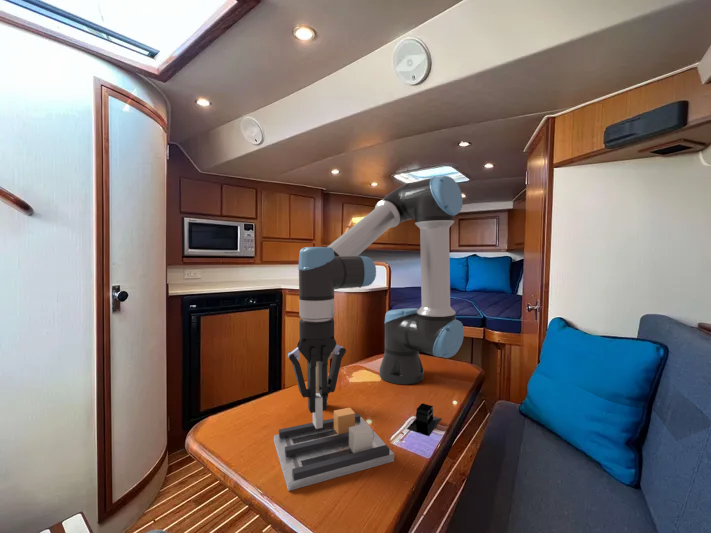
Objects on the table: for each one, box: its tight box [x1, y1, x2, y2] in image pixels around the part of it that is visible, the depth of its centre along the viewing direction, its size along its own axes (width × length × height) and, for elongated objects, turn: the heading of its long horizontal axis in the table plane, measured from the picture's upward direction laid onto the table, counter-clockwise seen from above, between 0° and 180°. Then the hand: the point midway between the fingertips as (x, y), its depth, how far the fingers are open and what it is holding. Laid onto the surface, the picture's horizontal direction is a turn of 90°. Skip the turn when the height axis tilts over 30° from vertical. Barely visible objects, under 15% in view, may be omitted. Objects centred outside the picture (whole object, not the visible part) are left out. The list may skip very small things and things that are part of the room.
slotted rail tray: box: [278, 413, 391, 480], centre depth 66 cm, size 19×16×1 cm
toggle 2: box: [349, 422, 374, 453], centre depth 65 cm, size 4×3×4 cm
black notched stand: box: [406, 403, 442, 437], centre depth 78 cm, size 12×7×5 cm, turn 147°
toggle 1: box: [333, 407, 356, 435], centre depth 72 cm, size 4×3×4 cm
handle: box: [316, 351, 334, 405], centre depth 86 cm, size 5×6×15 cm
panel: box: [273, 416, 395, 492], centre depth 66 cm, size 21×16×2 cm
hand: (317, 425), depth 70 cm, fingers closed
